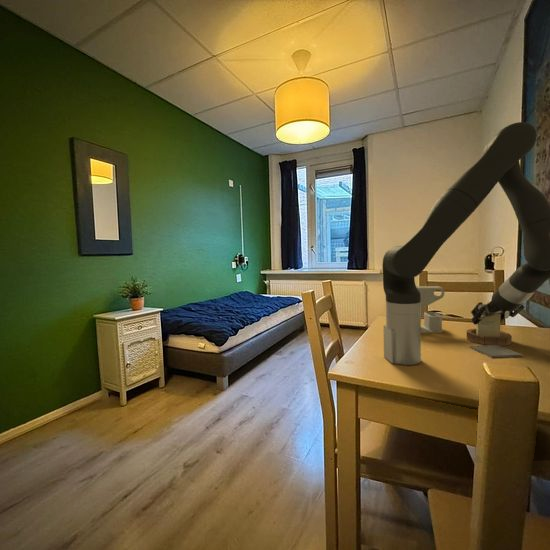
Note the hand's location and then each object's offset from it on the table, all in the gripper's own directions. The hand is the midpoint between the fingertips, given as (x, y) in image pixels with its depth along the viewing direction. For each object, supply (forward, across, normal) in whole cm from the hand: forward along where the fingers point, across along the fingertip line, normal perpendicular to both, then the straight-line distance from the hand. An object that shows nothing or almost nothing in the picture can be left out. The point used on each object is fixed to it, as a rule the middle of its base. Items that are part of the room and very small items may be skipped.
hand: (485, 321), depth 101 cm
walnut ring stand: (+3, 0, +5) cm, 6 cm away
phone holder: (+15, +16, -6) cm, 23 cm away
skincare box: (+3, 0, +6) cm, 6 cm away
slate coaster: (-5, +6, +14) cm, 16 cm away
